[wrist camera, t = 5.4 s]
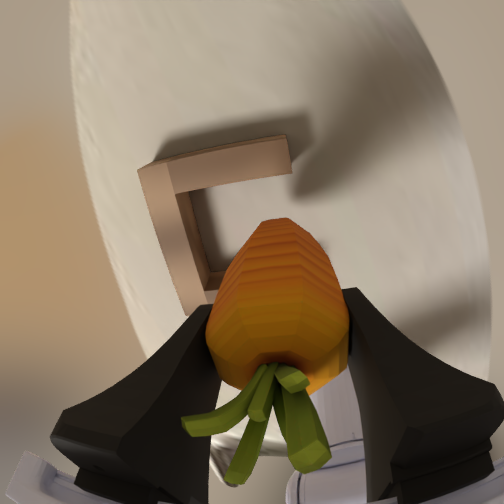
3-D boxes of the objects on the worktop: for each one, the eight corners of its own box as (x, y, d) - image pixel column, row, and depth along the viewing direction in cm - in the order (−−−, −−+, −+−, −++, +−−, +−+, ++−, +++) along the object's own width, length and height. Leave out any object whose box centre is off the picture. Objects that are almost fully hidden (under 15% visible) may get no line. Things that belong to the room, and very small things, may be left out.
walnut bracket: (306, 283, 23) (309, 303, 20) (193, 296, 24) (185, 316, 22) (285, 134, 18) (286, 138, 16) (152, 161, 19) (136, 170, 17)
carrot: (266, 273, 20) (245, 511, 7) (223, 213, 18) (123, 453, 5) (333, 239, 19) (401, 482, 5) (294, 171, 17) (343, 414, 4)
